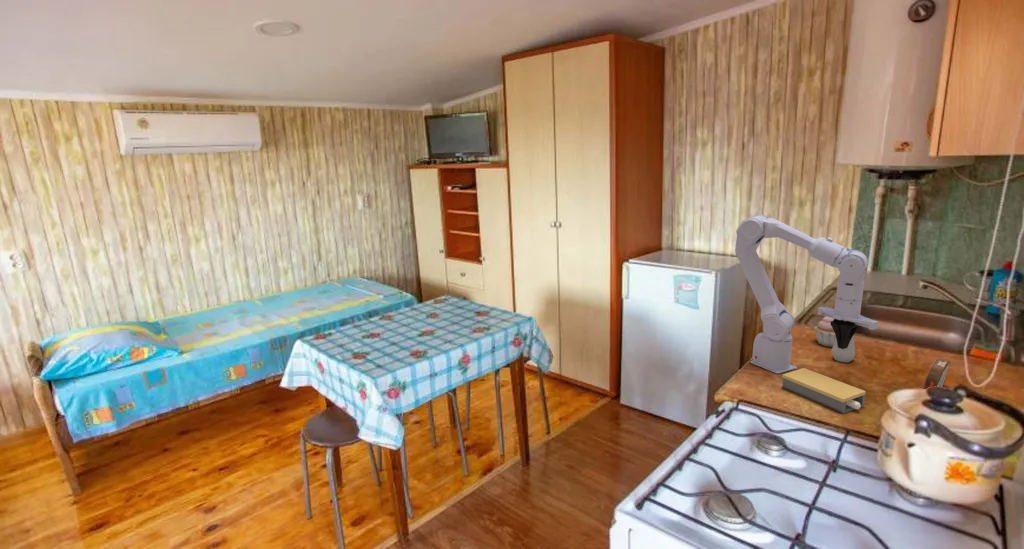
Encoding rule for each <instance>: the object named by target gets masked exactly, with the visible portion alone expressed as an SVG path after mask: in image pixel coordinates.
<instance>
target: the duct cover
mask: <svg viewBox="0 0 1024 549" xmlns="http://www.w3.org/2000/svg"><path fill="white" fill-rule="evenodd" d="M783 378H785V379H787V380H790V381H792V382H795V383H797V384H799V385H802V386H804V387H807V388H809V389H811V390H814V391H816V392H819V393H821V394H824V395H826V396H828V397H831V398H833V399H836V400H838V401H841V402H846V401H849V400H851V399H854V398H857V397H860V396H862V395H865V396H866V393H867V392H866V391H865V390H863V389H860V388H858V387H855V386H854V385H853V386H852V385H850V384H848V383H845V382H842V381H839V380H837V379H835V378H831V377H829V376H826V375H824V374H821V373H819V372H815V371H813V370H811V369H808V368H806V367H803V368H800V369H796V370H791V371H789V372H786V373H783V374H782V379H783Z"/></svg>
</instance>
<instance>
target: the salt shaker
mask: <svg viewBox="0 0 1024 549" xmlns="http://www.w3.org/2000/svg"><path fill="white" fill-rule="evenodd" d="M854 335H855V334H854ZM854 335H853V337H852V339H851V341H850V343H849V345H848V348H845V349H841V348H838V345H837V339H836V340H835V343H834V345H833V347H831V354H832V356H833V360H834V361H836V362H839V363H846V364H847V363H848V364H849V363H851V361H852V360H853V359H854V357H855V356H856V347H855V338H854Z"/></svg>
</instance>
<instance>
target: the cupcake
mask: <svg viewBox="0 0 1024 549" xmlns="http://www.w3.org/2000/svg"><path fill="white" fill-rule="evenodd" d="M833 320H834V318H831V317H827V316H823V318H822V319H821V320H820V321H819V322H818V323H817V326H814V331H815V334H816V341H817V343H818V344H819V345H821V346H823V347H828V348H833V345H834V343H835V340H836V335H835V332H834V330H833V328H832V326H831V321H833Z"/></svg>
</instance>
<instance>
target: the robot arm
mask: <svg viewBox="0 0 1024 549" xmlns="http://www.w3.org/2000/svg"><path fill="white" fill-rule="evenodd" d="M735 232H736V239H735V249H734V252H735V253H734V254H735V255H736V258H737V260H738V262H739V264H740V266H741V268H742V271H743V273H744V275H745V278H746V279H747V282H748V283H749V285H750V286H749V287H750V288H751V290H752V292H753V295H754V297H755V299H756V302H757V303H758V306H759V308H760V319H761V321H762V331H763V332H760V333H757V335H756V336H755V338H754V340H753V343H752V344H753V345H752V355H751V356H752V357H751V358H752V359H753V358H754V357H755V358H754V359H753V360H752V359H751V360H750V361H751V362H750V361H749V363H751V364H753V365H755V366H758V367H760V368H763V369H765V370H767V371H769V372H772V373H775V374H776V375H777V374H778V375H779V374H782V373H783V374H784V373H785V372H786V373H787V372H788V371H789V372H791V371H794V370H795V369H796V370H797V369H798V368H797V366H796V365H794V364H790V363H791V355H792V346H793V336H792V334H791V331H792V330H793V329H794V327H795V325H796V320H795V318H794V316H793V314H791V313H790V312H789V311H788V310H787V309H786V306H785V305H784V304H783V303H782V302H780V300H779V298H778V295H777V294H776V291H775V289H774V286H773V285H772V283H771V280H770V279H769V276H768V274H767V272H766V269H765V268H764V265H763V263H762V261H761V259H760V257H759V255H758V252H757V249H759V246H760V244H761V242H762V241H763V239H771V238H773V239H774V238H779V239H782V240H784V241H787V242H788V243H791V244H794V245H796V246H799V247H801V248H804V249H805V250H807V251H808V253H809V256H810V257H811V258H813V259H815V260H817V261H820V262H821V263H823V264H826V265H828V266H830V267H832V268H834V269H835V268H836V269H837V270H838V271H839V277H838V279H837V284H836V295H835V303H834V308H830V307H829V308H828V307H823V306H821V307H818V308H817V313H816V315H817V316H820V317H821V316H823V317H825V316H827V317H831V318H834V320H833V321H831V326H832V328H833V330H834V332H835V335H836V339H837V345H838V348H841V349H845V348H848V345H849V343H850V341H851V339H852V337H853V335H855V334H856V332H857V331H858V330H859V329H860V328H861V327H863V328H867V329H868V330H871V331H873V330H877V329H878V326H879V325H878V324H879V321H877V320H874V319H871V318H869V317H866V316H864V315H861V311H862V310H861V309H862V302H863V297H864V296H863V294H864V288H865V277H866V276H865V273H866V272H865V271H866V268H868V264H869V260H868V258H867V255H865V254H864V253H863V252H861V250H858V249H853V248H852V247H850V246H843V245H841V244H839V243H838V242H837V243H836V242H834V241H833V240H834V238H832V237H829V236H828V237H827V238H826V237H823V236H822V237H821V236H820V237H818V238H814V237H812V236H811V235H808V234H806V233H804V232H802V231H801V230H798V229H796V228H794V227H792V226H790V225H789V224H787V223H784V222H783V221H780V220H778V219H776V218H773V217H769V216H767V215H765V214H763V213H762V214H755V215H753V216H752V217H747V218H745V219H744V220H742V221H741V223H740V224H739V226H738V228H737V229H736V231H735Z"/></svg>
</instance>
